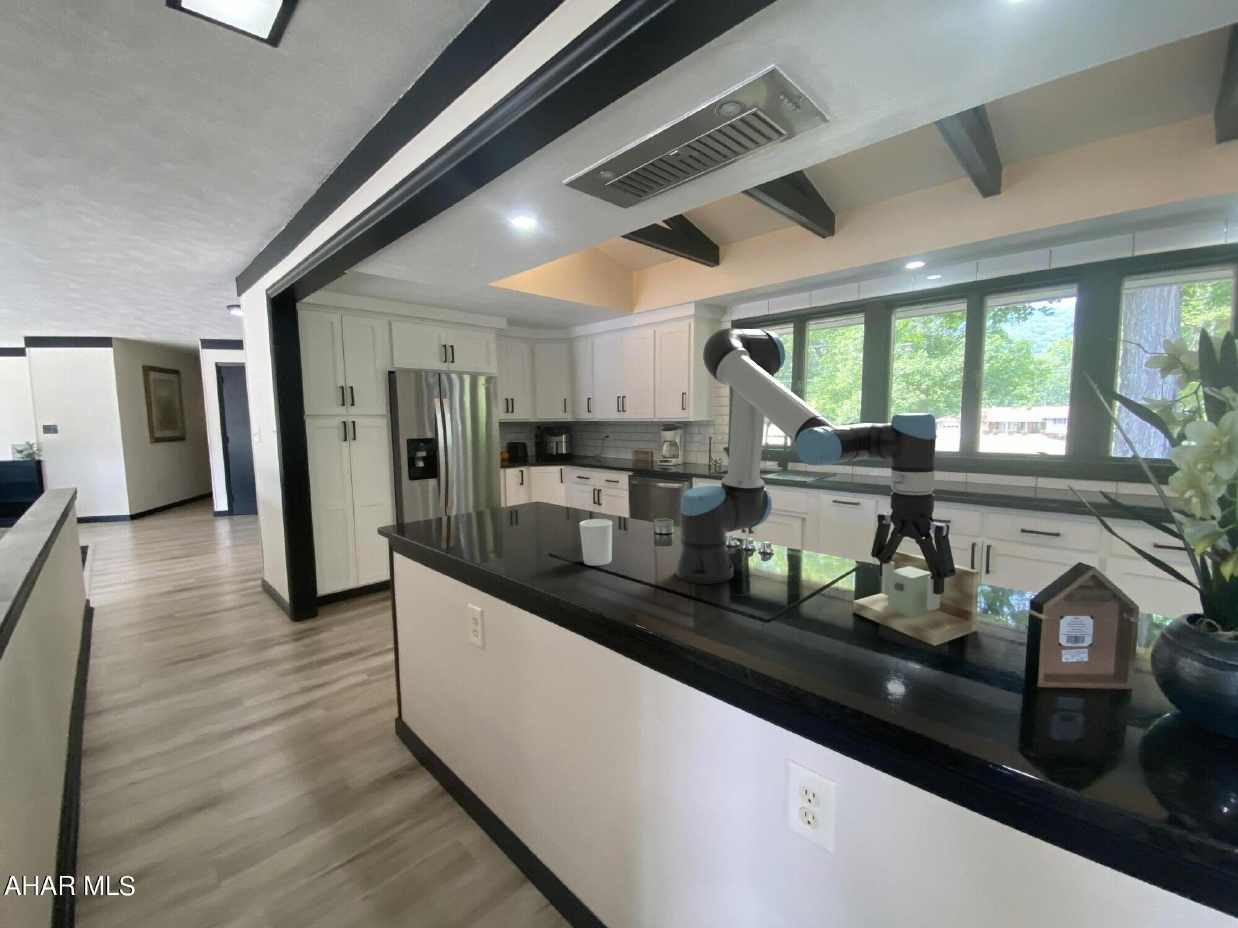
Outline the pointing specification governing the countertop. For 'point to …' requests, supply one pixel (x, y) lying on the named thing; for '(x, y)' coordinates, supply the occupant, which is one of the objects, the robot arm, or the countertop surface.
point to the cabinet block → (908, 591)
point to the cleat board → (937, 624)
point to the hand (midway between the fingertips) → (909, 600)
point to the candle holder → (596, 541)
